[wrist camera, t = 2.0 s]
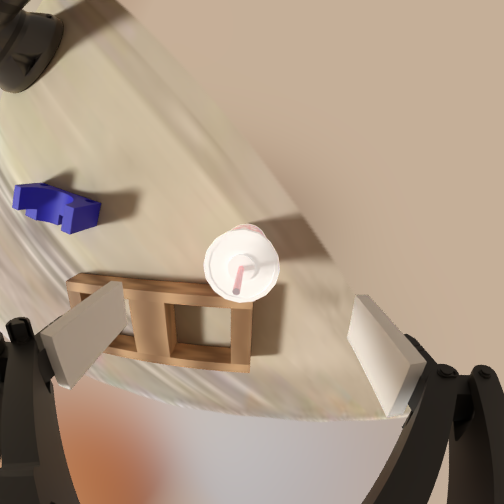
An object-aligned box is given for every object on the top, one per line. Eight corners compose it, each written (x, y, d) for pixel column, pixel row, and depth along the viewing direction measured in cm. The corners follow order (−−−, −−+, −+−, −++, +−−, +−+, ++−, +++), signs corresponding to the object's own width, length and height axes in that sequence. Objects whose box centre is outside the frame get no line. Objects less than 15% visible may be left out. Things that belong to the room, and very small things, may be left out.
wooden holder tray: (92, 335, 34) (80, 346, 31) (80, 273, 32) (65, 281, 28) (250, 356, 34) (249, 372, 30) (253, 286, 31) (252, 298, 28)
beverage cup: (208, 241, 30) (169, 285, 17) (249, 204, 29) (240, 221, 16) (243, 280, 31) (233, 349, 18) (285, 246, 30) (305, 296, 17)
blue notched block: (38, 212, 30) (11, 218, 24) (43, 182, 29) (15, 185, 23) (95, 236, 31) (68, 247, 25) (101, 203, 30) (73, 208, 24)
